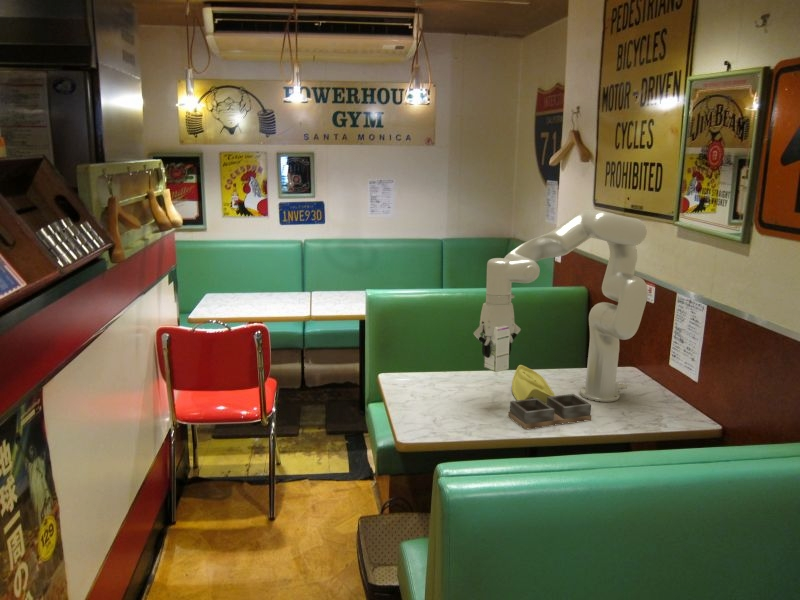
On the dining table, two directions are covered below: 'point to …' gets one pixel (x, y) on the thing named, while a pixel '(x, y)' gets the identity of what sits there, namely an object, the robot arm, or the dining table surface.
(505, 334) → the syrup box
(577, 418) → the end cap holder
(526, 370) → the plastic component
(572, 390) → the dining table surface
